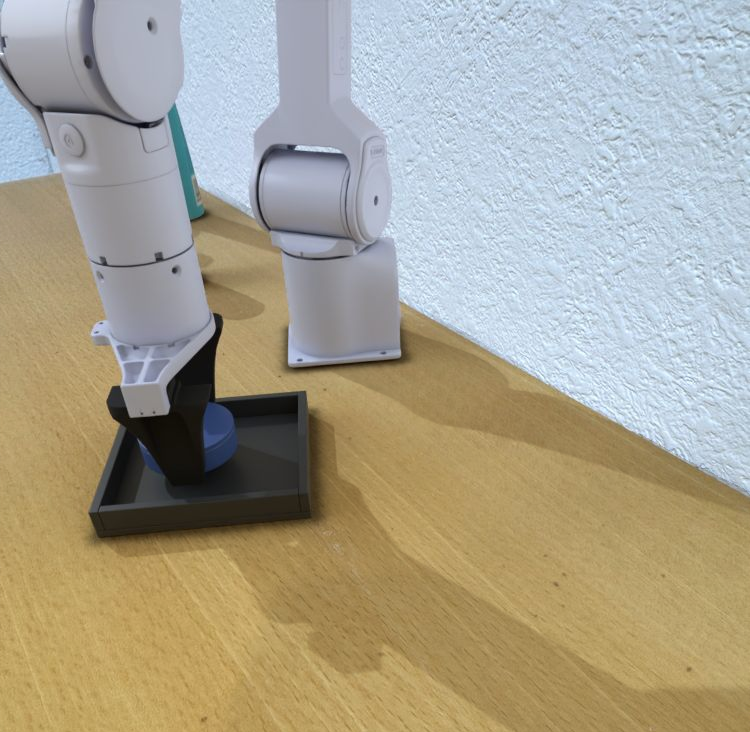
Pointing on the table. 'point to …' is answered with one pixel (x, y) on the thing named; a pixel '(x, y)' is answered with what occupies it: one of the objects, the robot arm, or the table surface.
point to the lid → (209, 439)
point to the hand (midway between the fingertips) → (194, 450)
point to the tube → (185, 166)
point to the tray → (215, 475)
